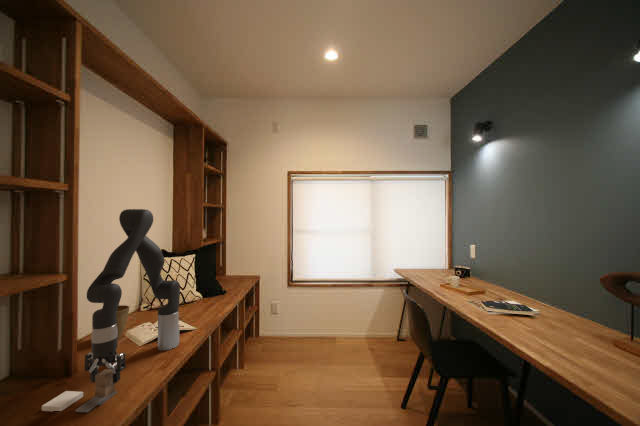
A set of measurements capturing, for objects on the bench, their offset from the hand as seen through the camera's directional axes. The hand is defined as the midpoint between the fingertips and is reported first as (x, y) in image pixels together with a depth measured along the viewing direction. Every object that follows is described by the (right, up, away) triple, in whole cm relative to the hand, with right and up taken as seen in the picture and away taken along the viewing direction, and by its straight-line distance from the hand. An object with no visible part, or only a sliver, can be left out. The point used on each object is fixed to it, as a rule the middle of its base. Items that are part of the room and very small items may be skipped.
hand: (105, 381), depth 100 cm
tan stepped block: (0, -4, -4) cm, 6 cm away
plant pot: (-34, -7, +48) cm, 59 cm away
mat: (0, -5, -2) cm, 5 cm away
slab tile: (-11, -4, 0) cm, 12 cm away
